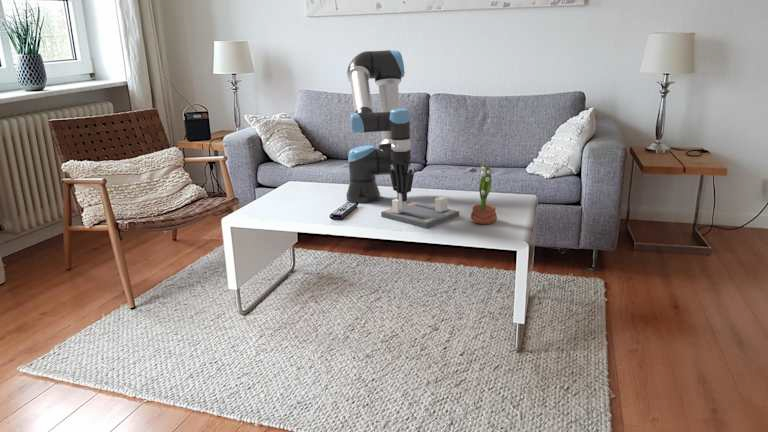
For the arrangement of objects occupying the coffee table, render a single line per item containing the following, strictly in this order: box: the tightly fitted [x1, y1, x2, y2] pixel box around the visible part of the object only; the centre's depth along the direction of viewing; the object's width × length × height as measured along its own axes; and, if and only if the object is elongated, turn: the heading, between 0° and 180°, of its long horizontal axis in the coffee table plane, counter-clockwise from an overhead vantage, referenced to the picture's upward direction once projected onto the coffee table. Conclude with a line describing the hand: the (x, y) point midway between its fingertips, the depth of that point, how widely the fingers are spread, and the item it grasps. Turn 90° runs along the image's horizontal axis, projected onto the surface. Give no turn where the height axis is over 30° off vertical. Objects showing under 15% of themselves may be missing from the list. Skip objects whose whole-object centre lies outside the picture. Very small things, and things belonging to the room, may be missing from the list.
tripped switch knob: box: [391, 197, 405, 213], centre depth 231 cm, size 3×4×5 cm
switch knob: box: [434, 196, 448, 212], centre depth 231 cm, size 3×4×5 cm
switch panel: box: [380, 200, 460, 229], centre depth 232 cm, size 24×20×2 cm
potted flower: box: [470, 158, 498, 225], centre depth 219 cm, size 12×10×25 cm
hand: (402, 208), depth 230 cm, fingers closed
